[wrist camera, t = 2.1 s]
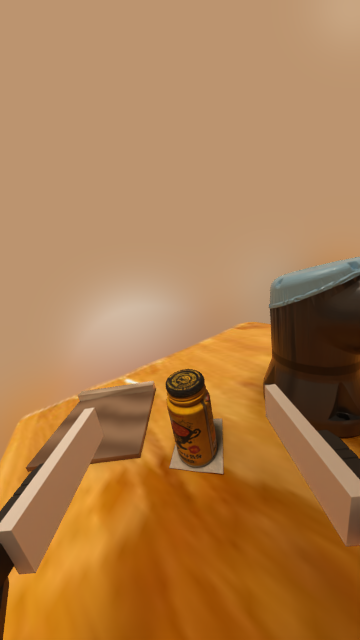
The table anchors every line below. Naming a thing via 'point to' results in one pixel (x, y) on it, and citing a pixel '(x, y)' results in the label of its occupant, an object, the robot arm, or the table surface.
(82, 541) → the table surface
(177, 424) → the condiment
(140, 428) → the dock board
